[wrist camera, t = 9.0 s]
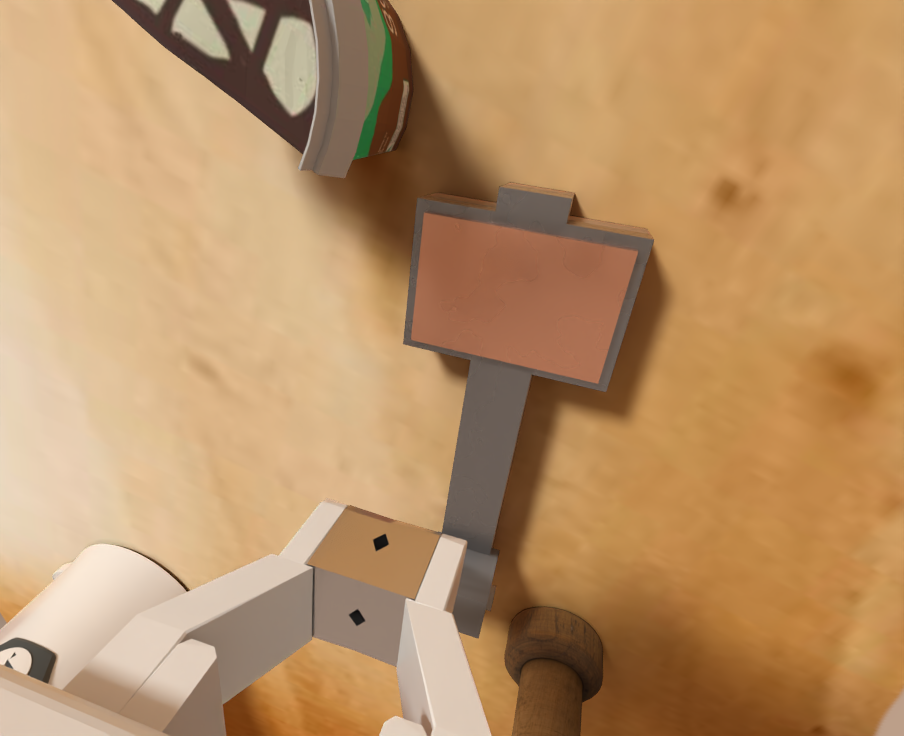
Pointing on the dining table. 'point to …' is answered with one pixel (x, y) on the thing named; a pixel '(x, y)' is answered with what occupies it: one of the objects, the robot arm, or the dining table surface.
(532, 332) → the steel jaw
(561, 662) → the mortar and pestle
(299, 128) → the food container
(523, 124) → the dining table surface
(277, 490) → the dining table surface
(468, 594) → the walnut jaw
